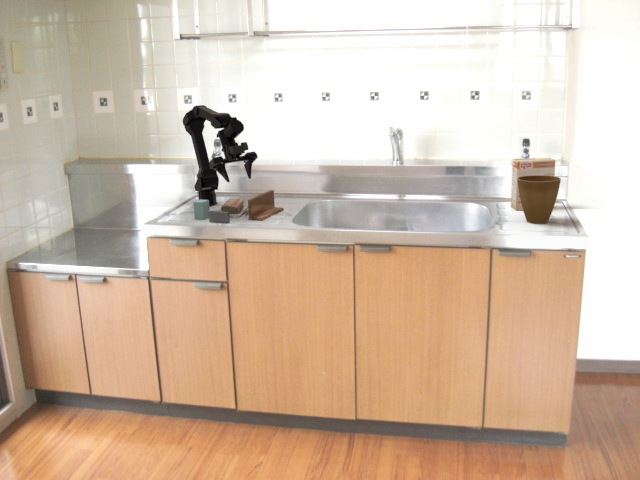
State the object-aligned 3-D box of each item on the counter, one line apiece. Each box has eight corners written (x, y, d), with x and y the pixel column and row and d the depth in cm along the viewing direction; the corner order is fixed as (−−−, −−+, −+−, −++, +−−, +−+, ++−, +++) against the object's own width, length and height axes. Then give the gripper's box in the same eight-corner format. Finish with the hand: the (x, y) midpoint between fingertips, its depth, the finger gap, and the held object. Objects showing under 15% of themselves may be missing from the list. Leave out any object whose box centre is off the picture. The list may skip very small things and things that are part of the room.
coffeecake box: (547, 205, 284) (549, 157, 279) (553, 209, 277) (556, 159, 273) (510, 207, 284) (512, 158, 279) (515, 210, 277) (517, 160, 272)
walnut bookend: (248, 219, 273) (247, 199, 271) (271, 209, 291) (270, 190, 289) (261, 220, 271) (261, 200, 269) (283, 210, 289) (282, 190, 287)
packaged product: (224, 197, 295) (247, 197, 294) (224, 208, 296) (248, 208, 296) (214, 206, 278) (240, 206, 277) (215, 218, 279) (240, 218, 278)
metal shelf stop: (209, 221, 271) (209, 211, 270) (211, 221, 272) (210, 211, 271) (228, 223, 268) (227, 212, 267) (229, 222, 269) (229, 212, 268)
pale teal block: (194, 219, 276) (193, 201, 274) (201, 216, 280) (200, 199, 278) (203, 220, 274) (202, 202, 272) (210, 217, 279) (209, 199, 277)
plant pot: (559, 218, 262) (562, 175, 258) (556, 227, 249) (559, 182, 245) (518, 215, 268) (520, 173, 264) (512, 224, 255) (514, 180, 251)
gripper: (212, 138, 268) (224, 176, 266) (256, 132, 277) (268, 169, 275) (204, 149, 278) (215, 186, 276) (247, 143, 287) (258, 179, 285)
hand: (239, 180), depth 277 cm, fingers open, 9 cm apart
